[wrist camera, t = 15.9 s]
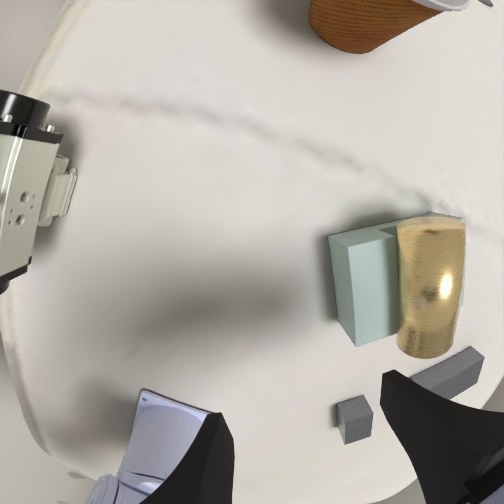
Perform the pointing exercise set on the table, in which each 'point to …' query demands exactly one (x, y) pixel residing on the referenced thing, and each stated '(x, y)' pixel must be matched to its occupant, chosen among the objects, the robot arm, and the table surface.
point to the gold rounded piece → (429, 284)
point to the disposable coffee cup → (372, 20)
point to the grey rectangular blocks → (434, 379)
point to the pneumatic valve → (28, 180)
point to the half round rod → (487, 2)
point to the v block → (369, 279)
